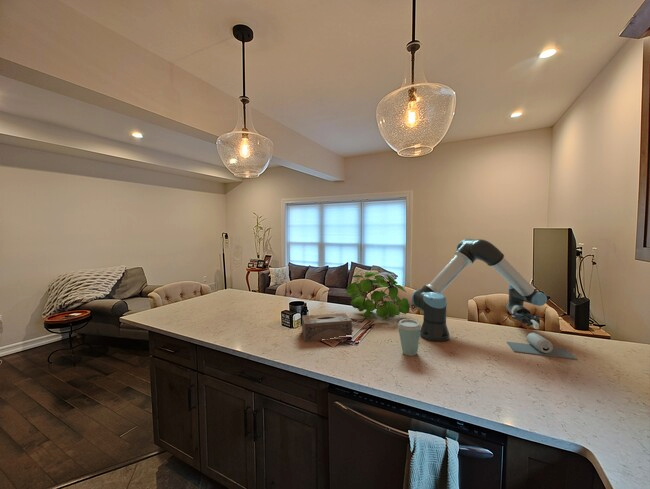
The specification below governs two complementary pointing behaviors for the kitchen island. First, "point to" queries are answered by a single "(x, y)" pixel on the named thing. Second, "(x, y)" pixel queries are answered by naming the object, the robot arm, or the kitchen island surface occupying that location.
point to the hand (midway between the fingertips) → (537, 326)
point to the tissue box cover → (325, 326)
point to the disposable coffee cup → (409, 336)
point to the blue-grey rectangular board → (532, 350)
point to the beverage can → (539, 342)
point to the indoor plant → (377, 296)
